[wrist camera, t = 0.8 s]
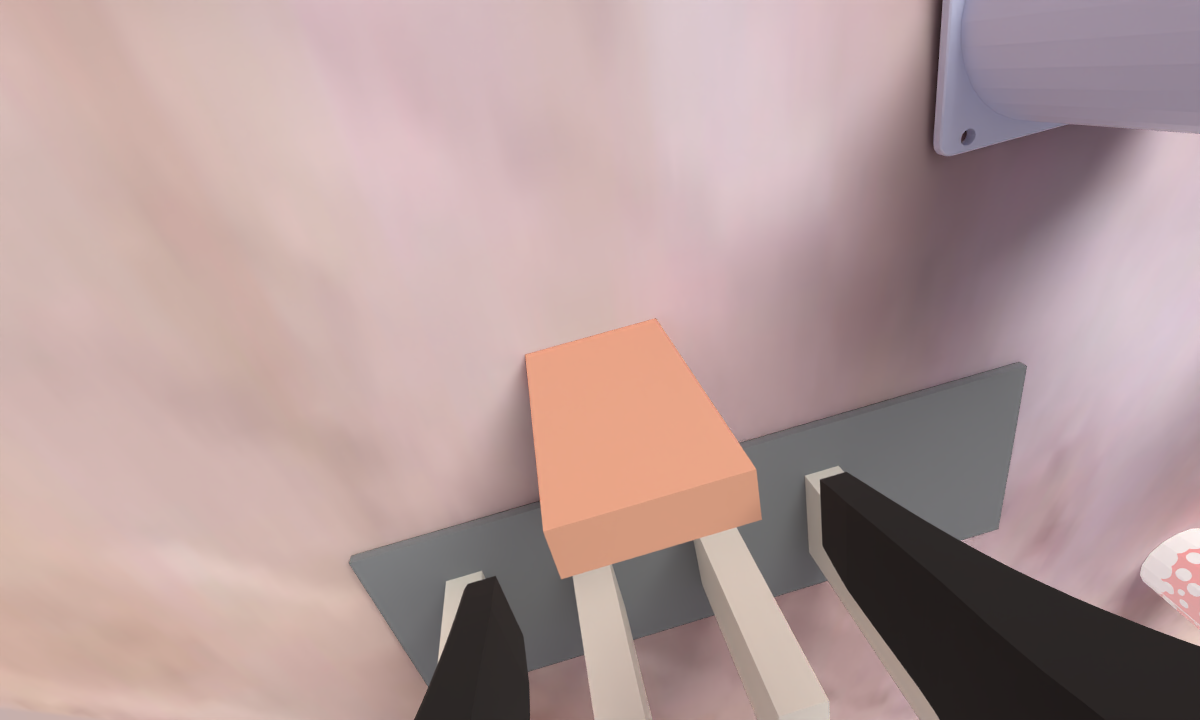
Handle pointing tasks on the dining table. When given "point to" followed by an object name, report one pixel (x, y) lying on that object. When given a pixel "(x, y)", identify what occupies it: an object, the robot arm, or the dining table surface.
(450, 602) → the domino
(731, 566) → the domino
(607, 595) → the domino
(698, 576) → the slate mat
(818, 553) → the domino
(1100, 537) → the dining table surface
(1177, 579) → the beverage cup
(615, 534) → the terracotta domino
